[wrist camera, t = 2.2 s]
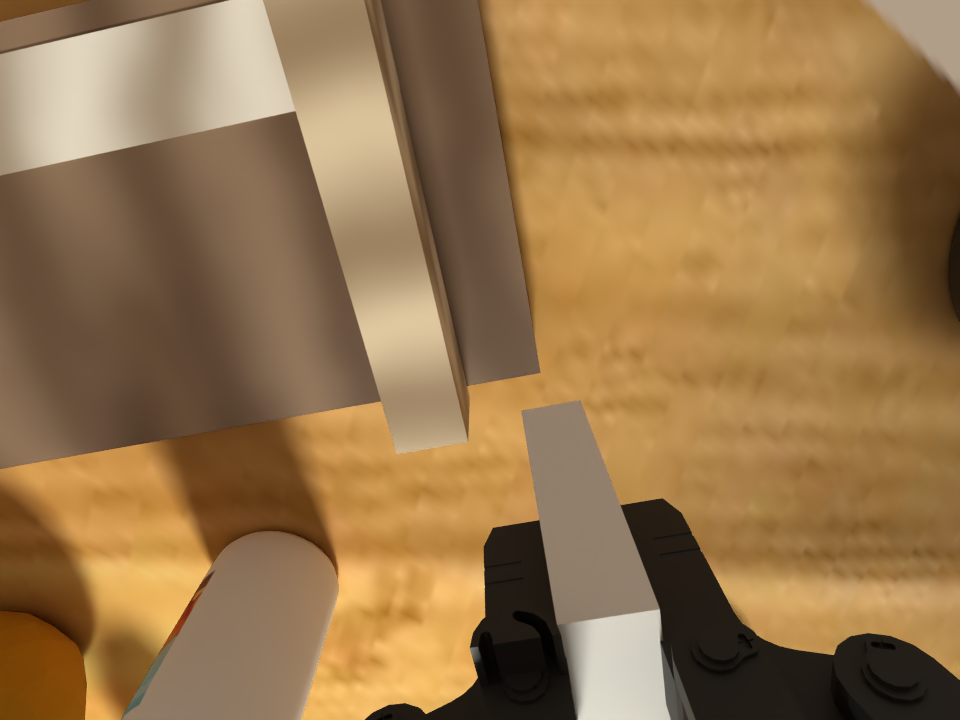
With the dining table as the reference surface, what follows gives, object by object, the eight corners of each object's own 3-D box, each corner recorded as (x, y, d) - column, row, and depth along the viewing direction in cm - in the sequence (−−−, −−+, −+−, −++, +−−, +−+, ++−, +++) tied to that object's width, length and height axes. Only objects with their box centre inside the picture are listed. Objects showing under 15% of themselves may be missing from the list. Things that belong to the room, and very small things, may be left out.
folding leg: (295, 0, 20) (255, -27, 17) (375, -19, 20) (352, -50, 17) (407, 408, 27) (396, 454, 23) (469, 398, 27) (467, 442, 23)
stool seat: (464, -64, 22) (462, -91, 20) (534, 349, 29) (540, 373, 27) (-168, 86, 25) (-254, 81, 22) (36, 439, 31) (-9, 471, 29)
